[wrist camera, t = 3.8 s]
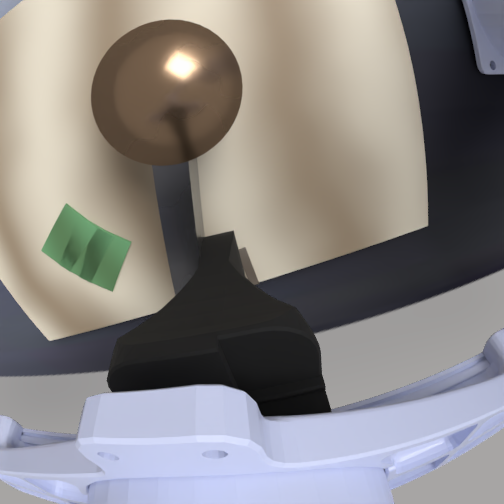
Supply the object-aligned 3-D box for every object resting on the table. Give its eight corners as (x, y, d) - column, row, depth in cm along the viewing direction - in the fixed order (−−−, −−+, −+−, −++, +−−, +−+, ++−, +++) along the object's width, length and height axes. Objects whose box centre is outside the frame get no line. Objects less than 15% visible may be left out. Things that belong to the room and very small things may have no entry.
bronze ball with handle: (117, 43, 8) (85, 36, 6) (234, 29, 8) (240, 13, 6) (159, 302, 14) (151, 349, 12) (245, 297, 14) (251, 343, 12)
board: (341, -90, 6) (351, -101, 5) (416, 214, 15) (429, 226, 14) (-67, 104, 8) (-82, 109, 7) (55, 327, 16) (48, 342, 15)
